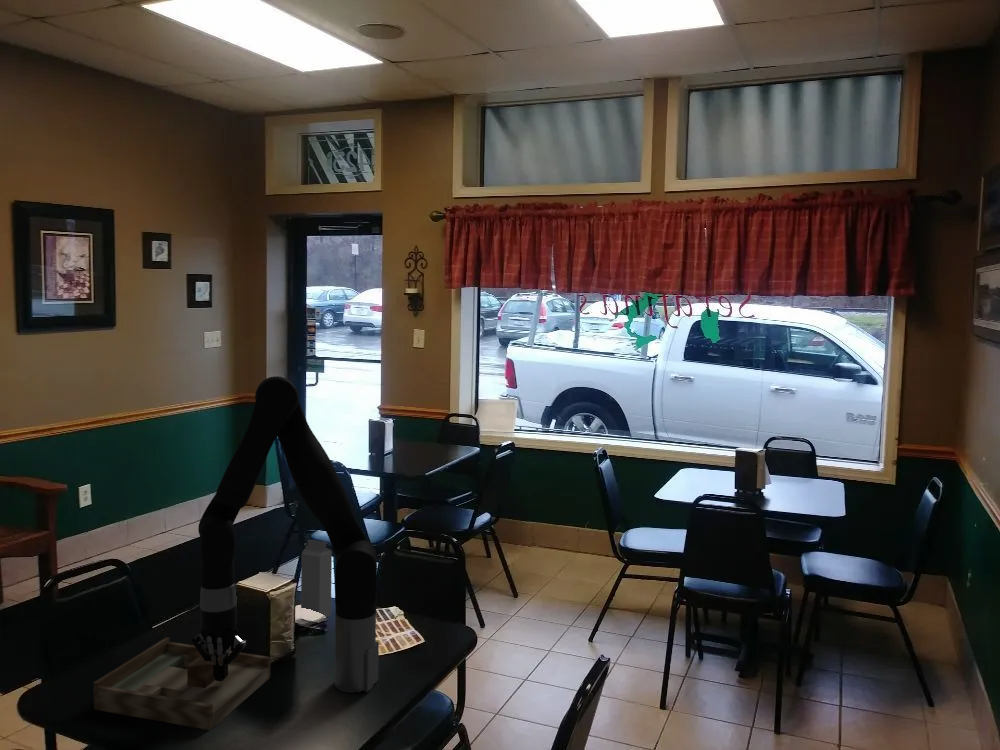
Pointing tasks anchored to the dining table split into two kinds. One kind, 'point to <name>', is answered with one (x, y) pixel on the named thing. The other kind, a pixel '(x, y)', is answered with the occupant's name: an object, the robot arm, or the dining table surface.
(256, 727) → the dining table surface
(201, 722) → the compartment tray
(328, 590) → the milk
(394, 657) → the dining table surface
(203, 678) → the block
